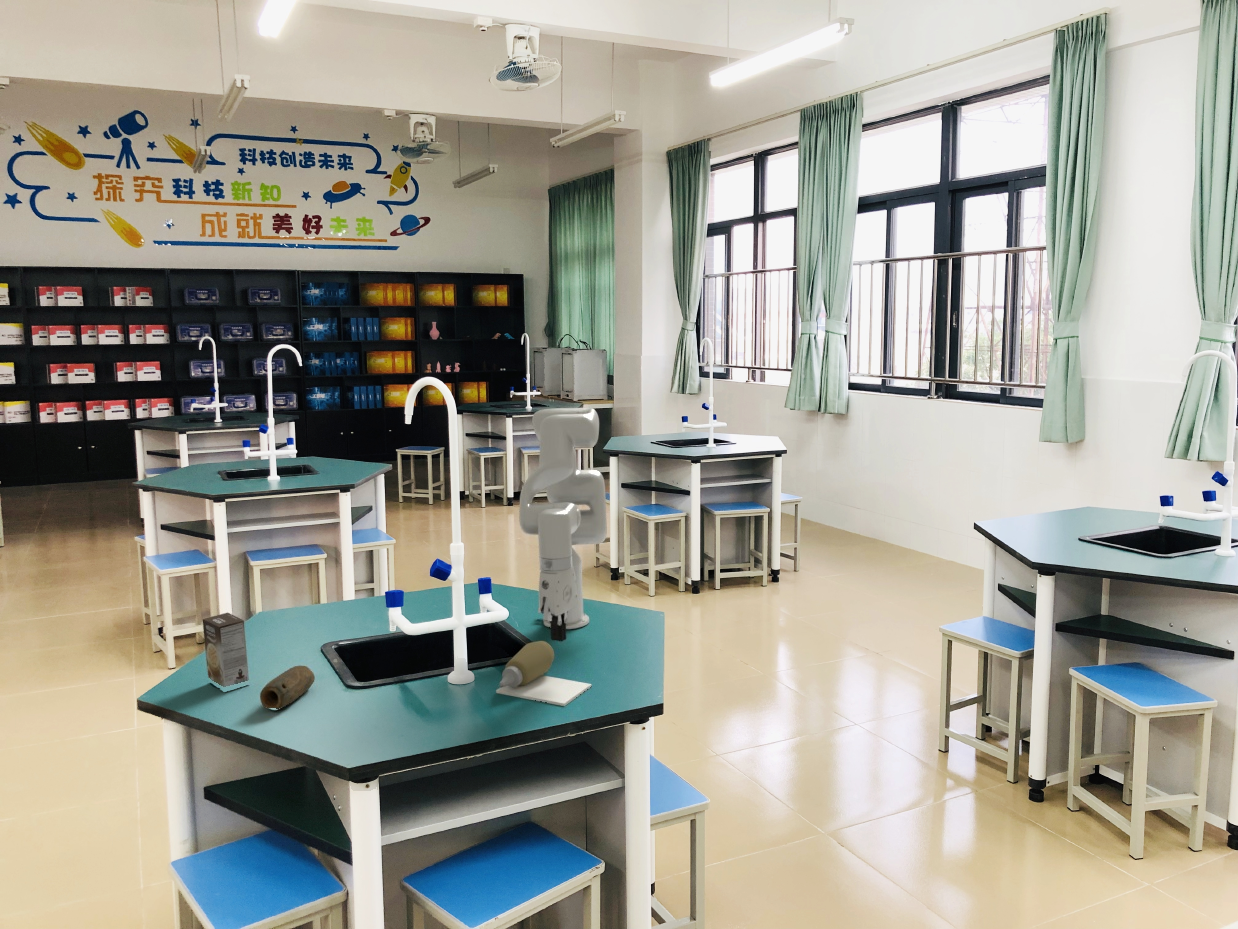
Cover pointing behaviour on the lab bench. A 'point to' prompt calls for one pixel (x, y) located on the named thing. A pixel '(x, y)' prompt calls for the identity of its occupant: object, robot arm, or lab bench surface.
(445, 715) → the lab bench surface
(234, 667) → the coffee box
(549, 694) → the mat
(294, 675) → the brown hollow cylinder
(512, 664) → the squeeze bottle
